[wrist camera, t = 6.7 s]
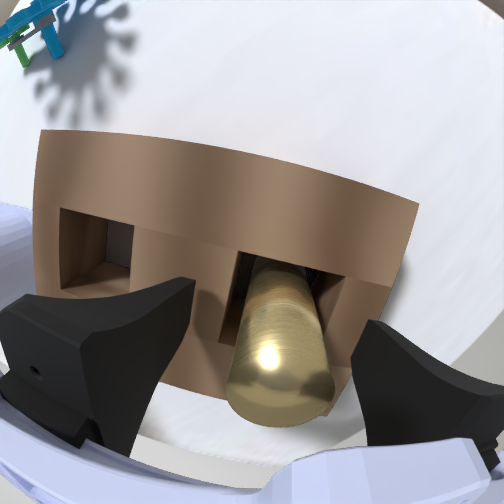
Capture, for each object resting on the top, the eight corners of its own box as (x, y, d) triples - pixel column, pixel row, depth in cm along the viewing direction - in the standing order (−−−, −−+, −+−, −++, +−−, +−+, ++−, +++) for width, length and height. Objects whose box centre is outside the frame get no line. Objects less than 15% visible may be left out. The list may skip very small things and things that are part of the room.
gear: (127, -42, 9) (21, -6, 5) (142, 16, 14) (54, 74, 10) (38, 6, 11) (-43, 62, 7) (55, 49, 16) (-17, 112, 12)
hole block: (81, 299, 18) (42, 330, 14) (92, 134, 15) (41, 129, 10) (317, 364, 18) (326, 416, 13) (378, 192, 15) (419, 203, 10)
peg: (248, 288, 17) (219, 417, 7) (258, 241, 16) (236, 343, 7) (296, 298, 17) (313, 431, 7) (309, 252, 16) (351, 363, 6)
